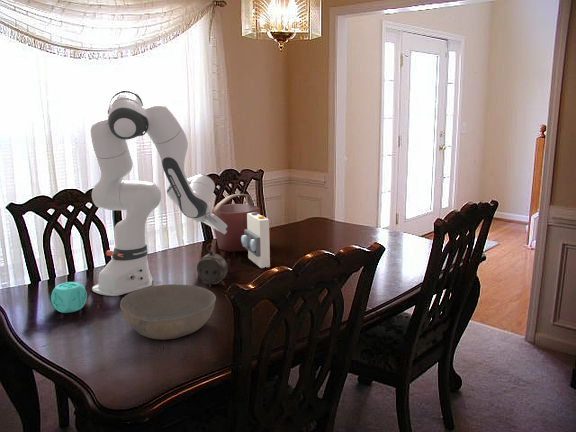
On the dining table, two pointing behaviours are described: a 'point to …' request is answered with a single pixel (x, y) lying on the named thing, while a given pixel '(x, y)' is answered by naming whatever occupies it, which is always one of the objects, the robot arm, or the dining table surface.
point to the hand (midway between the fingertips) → (224, 232)
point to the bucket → (233, 222)
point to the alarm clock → (212, 268)
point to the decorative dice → (69, 297)
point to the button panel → (258, 239)
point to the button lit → (253, 244)
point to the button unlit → (245, 240)
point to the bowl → (168, 310)
